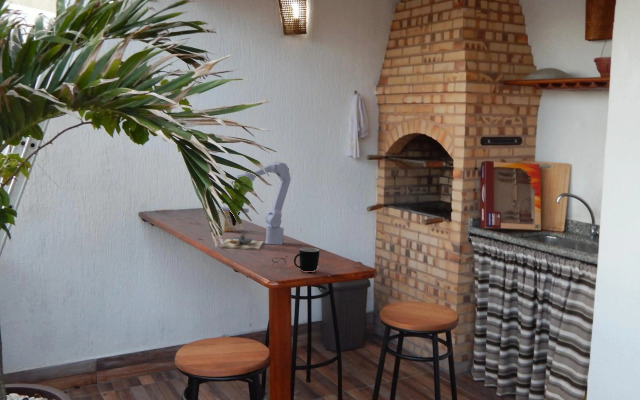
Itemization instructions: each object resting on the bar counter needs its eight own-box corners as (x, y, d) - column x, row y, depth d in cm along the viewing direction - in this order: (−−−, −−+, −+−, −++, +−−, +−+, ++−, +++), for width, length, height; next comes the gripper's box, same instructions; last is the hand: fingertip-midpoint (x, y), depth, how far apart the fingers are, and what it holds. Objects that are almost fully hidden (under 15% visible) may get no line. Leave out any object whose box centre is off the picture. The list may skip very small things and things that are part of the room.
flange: (239, 238, 369) (240, 236, 369) (255, 241, 364) (255, 238, 364) (224, 242, 356) (224, 239, 356) (240, 244, 352) (240, 242, 352)
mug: (312, 268, 316) (313, 247, 314) (321, 273, 308) (323, 250, 307) (289, 270, 310) (290, 248, 309) (298, 274, 302) (299, 252, 301)
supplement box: (224, 232, 399) (225, 209, 397) (218, 231, 401) (219, 208, 400) (234, 230, 405) (235, 208, 403) (228, 229, 408) (229, 207, 406)
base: (263, 242, 372) (263, 231, 371) (258, 250, 352) (259, 238, 351) (226, 240, 372) (226, 229, 372) (219, 247, 353) (220, 236, 352)
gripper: (249, 199, 366) (248, 224, 368) (222, 198, 367) (221, 223, 368) (248, 201, 359) (247, 227, 361) (220, 199, 360) (219, 225, 361)
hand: (234, 225), depth 364 cm, fingers closed
